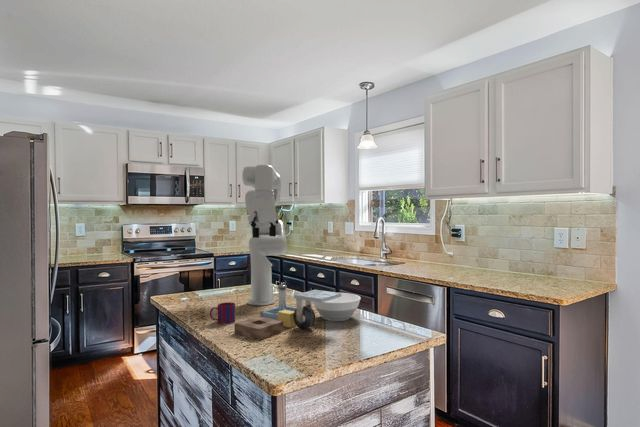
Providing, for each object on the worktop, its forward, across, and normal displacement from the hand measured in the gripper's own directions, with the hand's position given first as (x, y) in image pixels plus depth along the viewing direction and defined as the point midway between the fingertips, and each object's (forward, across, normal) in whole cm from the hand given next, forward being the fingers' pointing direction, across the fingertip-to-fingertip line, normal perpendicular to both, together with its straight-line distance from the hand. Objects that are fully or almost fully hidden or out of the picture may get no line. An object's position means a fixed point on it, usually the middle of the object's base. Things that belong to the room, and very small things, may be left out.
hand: (264, 236), depth 167 cm
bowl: (+32, -14, +26) cm, 44 cm away
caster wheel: (+32, +4, +29) cm, 43 cm away
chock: (+32, +5, +17) cm, 37 cm away
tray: (+32, -3, +7) cm, 33 cm away
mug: (+32, +17, -6) cm, 37 cm away
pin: (+32, -3, +7) cm, 32 cm away
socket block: (+32, +18, +15) cm, 40 cm away
